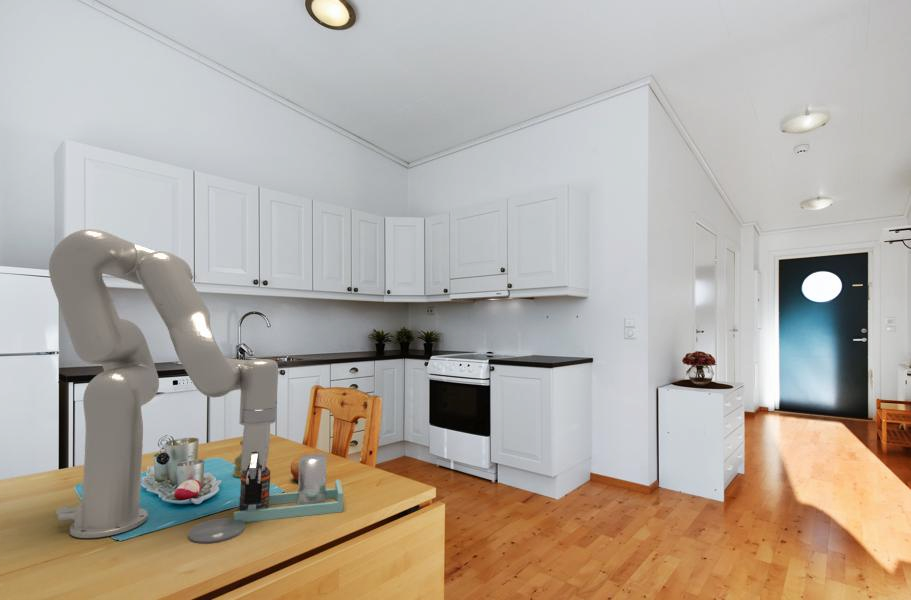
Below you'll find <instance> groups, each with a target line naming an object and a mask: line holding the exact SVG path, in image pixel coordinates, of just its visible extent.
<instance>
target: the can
mask: <svg viewBox="0 0 911 600" xmlns="http://www.w3.org/2000/svg"><path fill="white" fill-rule="evenodd" d="M327 461H328V459H327V455H326V454H321V453H316V454H309V455H304V456H302V457H300V458H299V481H297V482H298V484H297V485H298V487H297V490H298V491H297V492H298V502H297V505H306V504H316V503H326V499H325V495H326V489H327V484H326V483H327V463H328V462H327Z"/></svg>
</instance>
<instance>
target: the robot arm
mask: <svg viewBox="0 0 911 600" xmlns="http://www.w3.org/2000/svg"><path fill="white" fill-rule="evenodd" d="M49 258H50V259H49V262H48V274H49V280H50V282H51V286H52V288H53V291H54V293H55V296H56V298H57V301H58V304H59V307H60V310H61V313H62V316H63V317H62V318H63V320H64V323H65V326H66V329H67V332H68V335H69V337H70V341H71V343H72V347H73V349H74V352H75V354H76V356H77V357H78V358H79V359H80V360H81V361H82V362H84V363H87V364H91V365H101V366H102V369H103V371H102V372H100V373H98V374H97V375H95V376H94V377H93V378H92V379H91V380H90V381H89V382H88V384H87V386H86V387H85V390H84V393H83V397H82V403H83V412H84V420H85V421H84V423H85V439H84V440H85V441H84V464H83V466H84V467H83V478H82V479H83V480H82V493H81V494H82V495H81V504H78V505H77V506H72V507H71V506H67V507H66V506H65V507H59V508H58V509H57V510H56V514H55V517H56V519H57V521H58V522H64V521H65V522H66V521H72V522H73V523H72V524H71V525H70V526H69V534H70V535H71V536H72V537H75V538H78V539H97V538H98V539H99V538H105V537H110V536H115V535H118V534H123V533H125V532H128V531H131V530H133V529H135V528H137V527H140V526H141V525H143V524H144V523H145V522H146V521H147V519H148V511H147V509H145V508H142V507H140V500H141V499H140V498H141V480H142V466H143V465H142V463H143V462H142V461H143V447H144V446H143V441H144V422H143V413H142V407H143V406H144V405H146V404H148V403H149V402H151V401H152V400H153V399H154V398H155V396H156V395H157V393H158V390H159V387H160V380H159V379H160V378H159V374H158V372H157V371H158V370H157V368H156V366H155V363H154V360H153V357H152V354H151V351H150V348H149V345H148V343H147V340H146V338H145V335H144V333H143V332H142V330H141V329H140V328H139V327H138V325H137V324H135V323H134V322H132V321H130V320H128V319H123V318H120V317H119V316H120V315H119V313H118V312H117V309H116V307H115V303H114V300H113V299H114V298H113V296H112V294H111V292H110V290H109V288H108V287H107V285H106V283H105V281H104V279H103V275H106V276H111V277H114V278H119V279H121V280H125V281H128V282H131V283H133V284H137V285H141V286H142V288H143V289H144V291H145V292H146V294H147V296H148V297H149V299H150V301H151V302H152V304H153V306H154V307H155V309H156V311H157V313H158V314H159V316H160V318H161V319H162V321H163V323H164V324H165V326H166V328H167V330H168V334H169V338H170V340H171V342H172V345H173V348H174V351H175V353H176V355H177V358H178V360H179V362H180V364H181V365H182V367H183V369H184V371H185V372H186V374H187V375H188V378H189V379H190V381H191V382H192V384H193V385H194V387H195V389H197V390H198V391H199V392H200V393H201V394H202V395H204V396H205V397H209V398H220V397H223V396H225V395H228V394H229V393H230V392H233V391H238V390H240V399H239V401H240V403H239V420H238V421H239V424H238V425H241V426H243V433H242V440H243V441H242V440H241V441H242V445H241V453H242V457H241V470H240V471H241V472H242V473H244V471H246V470H247V468H248V470H247V479H246V484H245V503H246V504H249V503H259V502H261V498H262V482H261V472H262V471H263V470H265V467H267V464H268V463H267V462H268V459H269V453H270V452H269V451H270V441H271V440H270V439H271V424H274V423H276V422H277V411H278V407H277V403H278V383H279V382H278V379H279V363H278V362H277V361H276V360H274V359H269V358H267V359H266V358H265V359H264V358H256V359H238V358H230V357H229V358H228V357H225V356H224V353H223V352H222V351H221V349H220V347H219V345H218V343H217V341H216V339H215V336H214V334H213V331H212V328H211V314H210V310H209V308H208V307H207V305H206V303H205V301H204V300H203V298H202V297H201V295H200V293H199V292H198V289H197V288H196V286H195V285H194V283H193V281H192V278H193V272H192V268H191V267H190V265H189V264H188V262H186V261H185V259H183V258H182V257H179V256H177V255H175V254H173V253H171V252H167V251H162V250H161V251H157V250H154V249H152V248H148V247H145V246H142V245H139V244H136V243H134V242H131V241H128V240H126V239H123V238H121V237H119V236H117V235H114V234H111V233H109V232H107V231H103V230H100V229H92V228H91V229H90V228H88V229H81V230H77V231H75V232H72V233H70V234H68V235H67V236H66V237H64V238H62V239H61V241H60V242H59V243H58V244H57V245H56V246H55V247H54V249H53V251H52V253H51V255H50V257H49ZM257 467H260V468H257Z"/></svg>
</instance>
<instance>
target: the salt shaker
mask: <svg viewBox="0 0 911 600" xmlns="http://www.w3.org/2000/svg"><path fill="white" fill-rule="evenodd" d="M242 441H243V439H241V440H240V441H239V444H240V445H241V446H242ZM241 457H242V452H241V453H240V454H239V455H238V456H236V457H235V458H234V460H233V463H234V465H235V466H234V467H233V476H234V477H235V478H237V477H239V478H238V479H241V475H242V472H241V471H240V470H241Z"/></svg>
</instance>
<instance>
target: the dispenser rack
mask: <svg viewBox="0 0 911 600" xmlns="http://www.w3.org/2000/svg"><path fill="white" fill-rule="evenodd" d="M334 483H335V484H334V485H335V486H334V487H335V488H326V495H325V500H332V499H334V500H335V499H336V500H335V501H327V502H326V501H325V503H316V504H306V505H298V504H296V505H289V506H278V507H277V506H275V507H269V508H266V509H256V510H245V511H239V510H238V511H234V512H233V518H234V520H242V521H244V522H245V523H248V522H258V521H267V520H268V521H269V520H276V519H288V518H294V517H295V518H296V517H304V516H307V517H308V516H314V515H325V514H333V513H342V512H343V510H344V509H343V505H344V493H343V487H342V483H341V480H340V479H335V482H334ZM288 503H289V504H291V503H298V491H291V492H282V493H281V492H280V493H269V506H270V505H279V504H282V505H283V504H288ZM238 508H240V497H239V498H238Z"/></svg>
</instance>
